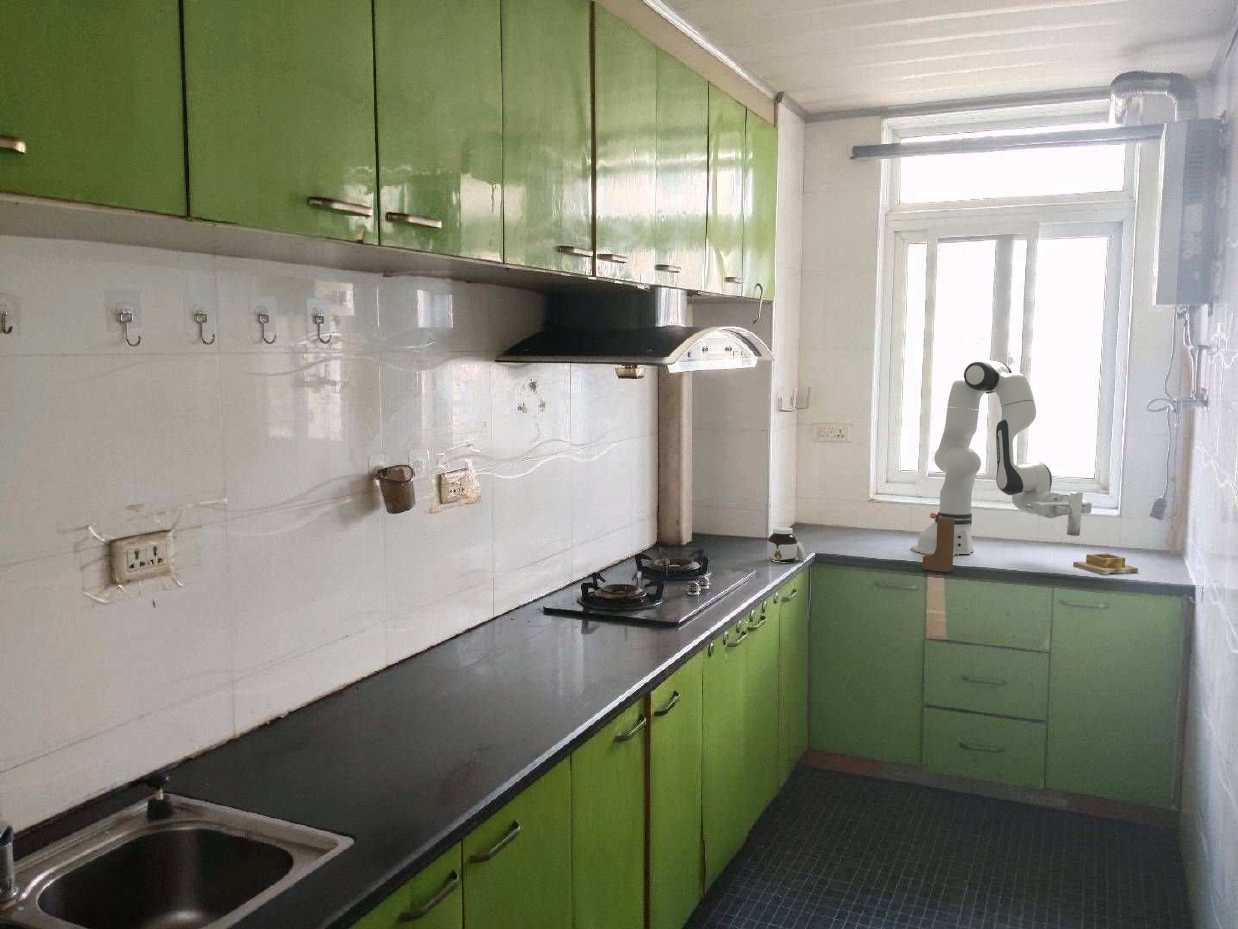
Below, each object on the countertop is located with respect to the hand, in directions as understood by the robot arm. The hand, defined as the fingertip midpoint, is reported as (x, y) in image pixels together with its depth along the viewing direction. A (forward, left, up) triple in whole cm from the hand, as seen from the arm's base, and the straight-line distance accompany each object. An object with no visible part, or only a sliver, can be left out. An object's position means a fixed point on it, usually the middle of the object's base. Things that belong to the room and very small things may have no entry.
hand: (1076, 511), depth 326 cm
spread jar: (-83, +43, -21) cm, 96 cm away
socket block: (+16, +5, -21) cm, 27 cm away
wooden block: (-40, +17, -21) cm, 48 cm away
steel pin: (0, +1, -8) cm, 8 cm away
